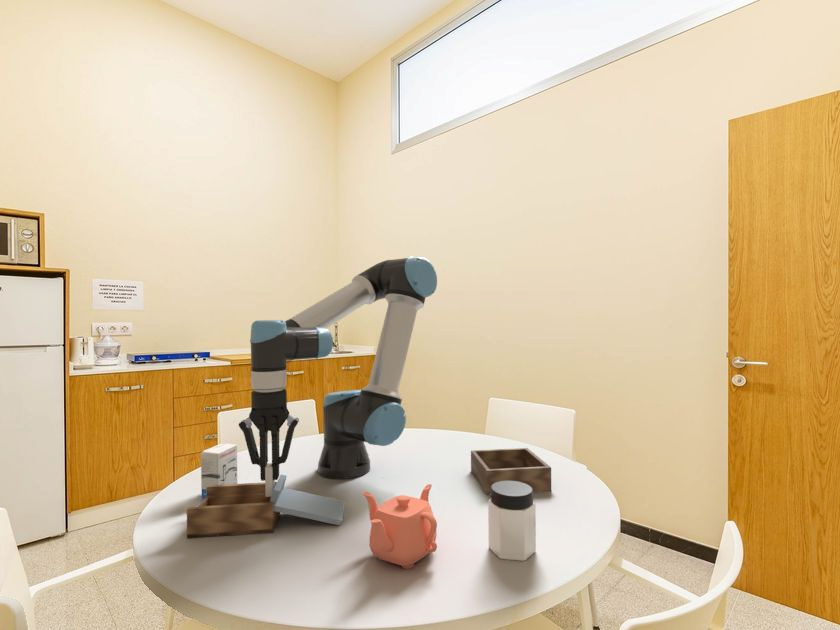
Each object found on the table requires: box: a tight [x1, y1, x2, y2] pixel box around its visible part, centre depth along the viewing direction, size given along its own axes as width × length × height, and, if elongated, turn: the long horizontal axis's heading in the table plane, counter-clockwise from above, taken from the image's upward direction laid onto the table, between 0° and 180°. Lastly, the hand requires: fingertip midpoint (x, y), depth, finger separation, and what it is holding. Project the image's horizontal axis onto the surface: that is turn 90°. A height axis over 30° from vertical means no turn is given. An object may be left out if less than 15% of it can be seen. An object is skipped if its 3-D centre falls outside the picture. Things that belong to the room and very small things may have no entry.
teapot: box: [361, 484, 438, 569], centre depth 86 cm, size 14×14×11 cm
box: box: [186, 481, 281, 539], centre depth 101 cm, size 17×13×6 cm
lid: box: [270, 474, 345, 527], centre depth 102 cm, size 16×10×4 cm, turn 97°
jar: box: [487, 481, 537, 562], centre depth 88 cm, size 9×8×12 cm
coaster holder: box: [470, 447, 552, 495], centre depth 124 cm, size 17×17×6 cm
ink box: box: [200, 443, 238, 500], centre depth 116 cm, size 9×5×12 cm, turn 168°
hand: (270, 494), depth 101 cm, fingers closed
